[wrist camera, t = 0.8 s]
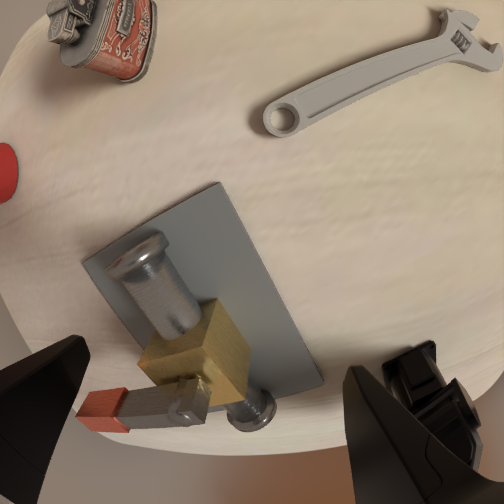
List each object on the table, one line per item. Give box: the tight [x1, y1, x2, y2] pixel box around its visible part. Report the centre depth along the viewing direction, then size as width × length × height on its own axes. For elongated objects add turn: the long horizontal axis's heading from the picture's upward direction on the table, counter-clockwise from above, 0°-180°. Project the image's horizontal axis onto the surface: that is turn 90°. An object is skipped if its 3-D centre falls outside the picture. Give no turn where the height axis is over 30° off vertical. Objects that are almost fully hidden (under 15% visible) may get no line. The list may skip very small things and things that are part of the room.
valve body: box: [105, 231, 277, 432], centre depth 21 cm, size 20×6×7 cm, turn 26°
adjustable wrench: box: [263, 9, 503, 137], centre depth 14 cm, size 25×6×2 cm, turn 117°
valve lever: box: [75, 378, 212, 433], centre depth 18 cm, size 13×2×3 cm, turn 117°
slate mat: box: [82, 182, 324, 413], centre depth 24 cm, size 22×15×1 cm
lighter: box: [46, 0, 158, 83], centre depth 10 cm, size 8×3×10 cm, turn 178°
